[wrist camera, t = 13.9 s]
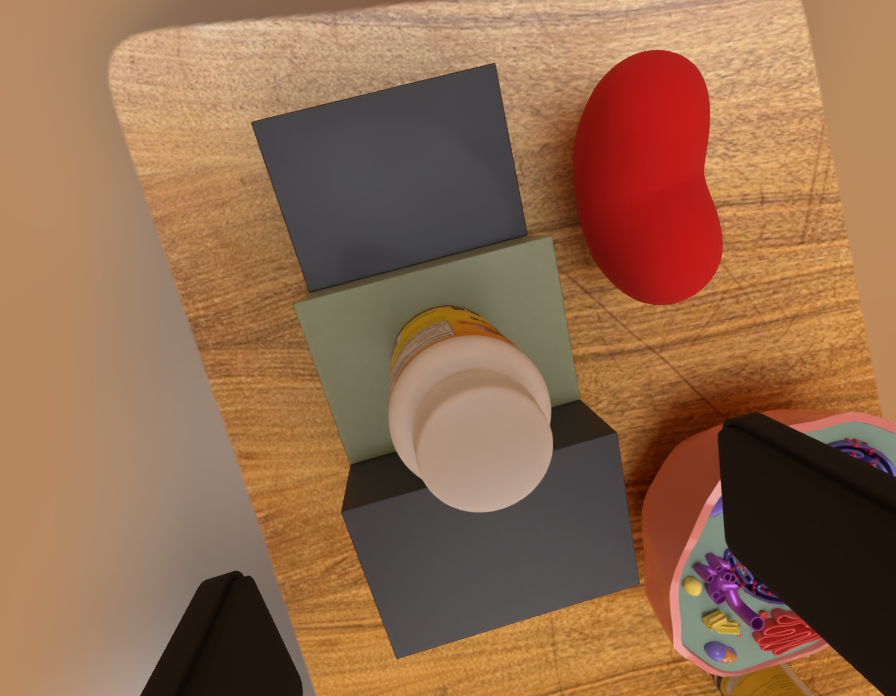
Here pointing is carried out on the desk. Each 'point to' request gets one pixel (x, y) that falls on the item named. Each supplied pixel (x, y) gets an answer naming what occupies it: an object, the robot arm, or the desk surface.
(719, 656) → the cell model
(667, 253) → the red kidney model
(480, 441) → the supplement bottle
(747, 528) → the robot arm
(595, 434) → the tiered shelf
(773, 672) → the pill bottle
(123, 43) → the desk surface
